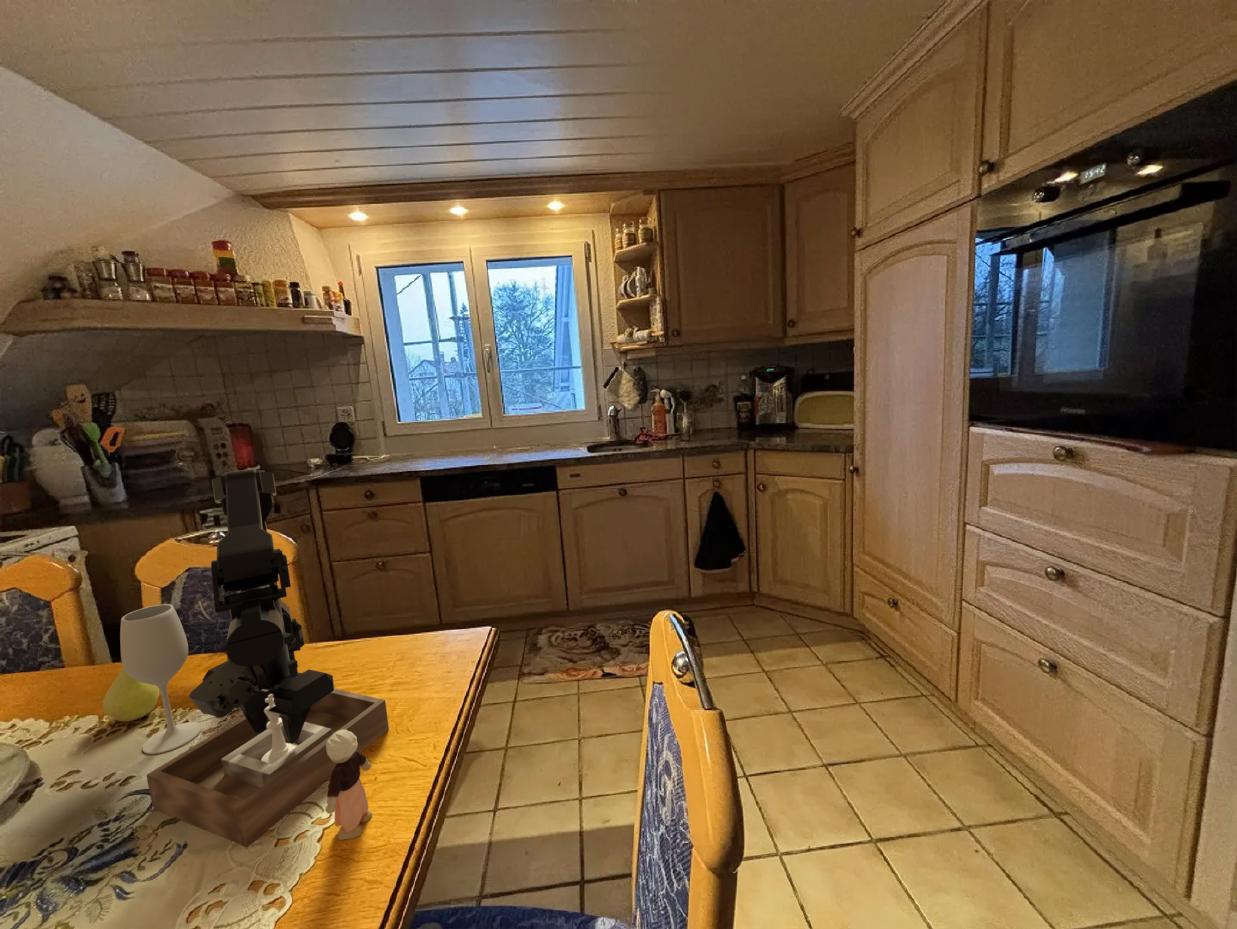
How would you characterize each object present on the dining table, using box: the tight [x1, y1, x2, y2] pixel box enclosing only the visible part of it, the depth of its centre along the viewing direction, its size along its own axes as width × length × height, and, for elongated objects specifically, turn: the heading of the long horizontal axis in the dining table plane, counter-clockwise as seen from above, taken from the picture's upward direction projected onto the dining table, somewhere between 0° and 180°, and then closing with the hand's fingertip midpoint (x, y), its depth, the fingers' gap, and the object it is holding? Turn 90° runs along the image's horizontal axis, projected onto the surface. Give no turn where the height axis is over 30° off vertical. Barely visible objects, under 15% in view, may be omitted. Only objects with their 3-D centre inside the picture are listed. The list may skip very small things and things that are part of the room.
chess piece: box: [261, 694, 298, 764], centre depth 74 cm, size 5×5×10 cm
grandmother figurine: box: [325, 730, 373, 841], centre depth 63 cm, size 8×4×13 cm, turn 5°
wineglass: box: [119, 603, 203, 755], centre depth 81 cm, size 8×8×21 cm
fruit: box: [102, 666, 160, 722], centre depth 88 cm, size 7×8×12 cm
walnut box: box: [146, 688, 390, 848], centre depth 75 cm, size 18×22×5 cm
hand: (277, 737), depth 74 cm, fingers open, 6 cm apart
